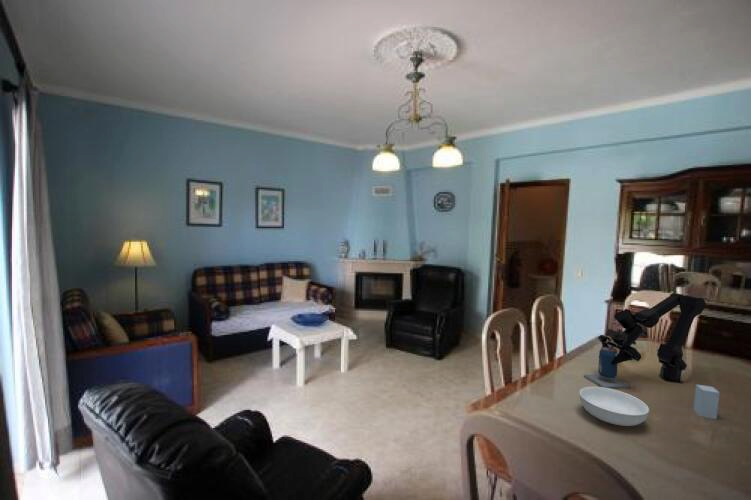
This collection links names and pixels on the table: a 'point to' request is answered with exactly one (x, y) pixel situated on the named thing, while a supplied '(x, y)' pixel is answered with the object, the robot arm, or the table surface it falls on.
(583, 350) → the table surface
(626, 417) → the serving bowl
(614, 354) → the soda can
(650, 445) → the table surface
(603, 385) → the mat
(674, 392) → the table surface
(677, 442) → the table surface
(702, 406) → the gray block
